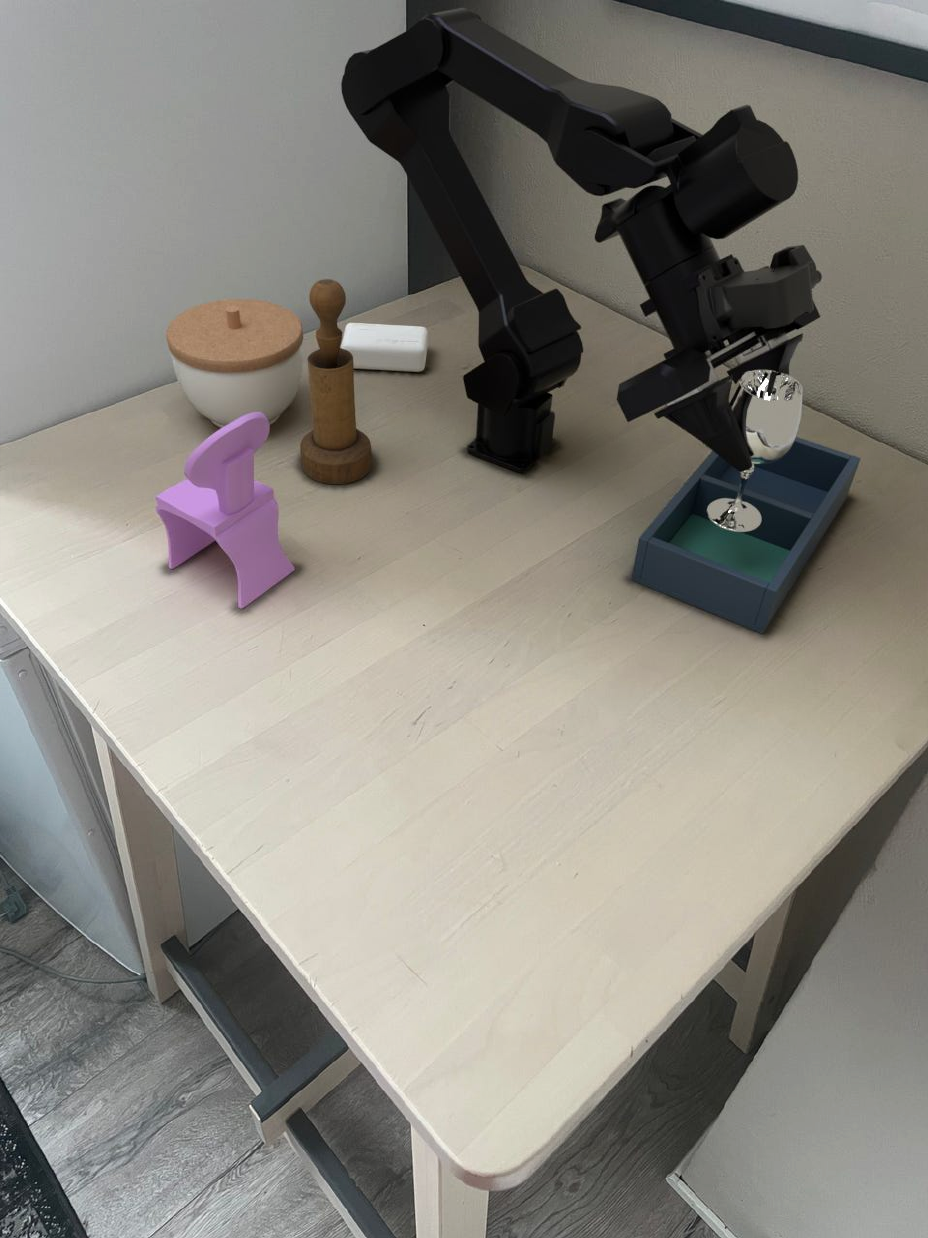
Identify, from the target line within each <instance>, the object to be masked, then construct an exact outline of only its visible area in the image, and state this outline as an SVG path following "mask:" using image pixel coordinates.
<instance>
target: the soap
mask: <svg viewBox="0 0 928 1238" xmlns="http://www.w3.org/2000/svg"><path fill="white" fill-rule="evenodd" d="M428 337H429V333H428V329H427V328H426V327H424V326H417V325H416V326H415V325H403V324H402V325H399V324H384V323H383V324H379V323H364V322H363V323H362V322H348V323H347V324H346V325H345V328H344V332H343V336H342V341H341V346H340V348H342V349H345V350H347V351H349V352H350V353H351V354H352V355H353V367H354V369H357V370H359V369H361V370H374V371H375V370H380V371H394V372H395V371H396V372H397V371H398V372H411V373H413V372H414V373H420V372H423V371H424V370H425V368H426V361H427V354H428V348H429V347H428V342H429V341H428Z"/></svg>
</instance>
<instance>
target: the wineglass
mask: <svg viewBox="0 0 928 1238" xmlns="http://www.w3.org/2000/svg"><path fill="white" fill-rule="evenodd" d="M803 396H804V388H803V386H802V384H801V383H800V382H799V380H797V379H796V378H795V377H793V376H792V375H790V374H789V375H787V374H785V373H782V372H779V371H774V370H767V369H757V370H751V371H748V372H746V373H744V374H742V376H741V377H740V378H739V380H738V382H737V383H736V384H735V386H734V387H733V389H732V391H731V392H730V395H729V403H730V406H731V408H732V411H733V413H734V416H735V418H736V421H737V423H738V426H739V428H740V431H741V433H742V436H743V438H744V441H745V443H746V446H747V449H748V452H749V455H750V458H751V462H752V467H751V468H750V469H748V470H746V471H743V472H740V473H741V478H740V485H739V489H738V492H737V496H736V498H735V499H734V498H721V499H717V500H715V501H713V502H711V503H710V504H709V505H708V507H707V515H708V517H709V519H710V520H711V521H712V522H713V523H714V524H716V525H717V526H719V527H721V528H723V529H726V530H729V531H734V532H747V531H751V530H754V529H756V528H757V527H759V525H760V524H761V521H762V517H761V514H760V512H759V511H758V510H757V508H755V507H754V506H753V505H751V504H750V503H748V502H745V501H743V500H742V496H743V492H744V489H745V486H746V483H747V481H748V480H749V478H750V476H751V475H752V473H753V471H754V464H768V463H772V462H775V461H777V460H779V459H781V458H782V457H783V456H784V455H786V454H787V453H788V452H789V450H790V449H791V447H792V446H793V444H794V442H795V440H796V438H797V437H798V434H799V431H800V428H801V423H802V415H803V399H804V397H803Z"/></svg>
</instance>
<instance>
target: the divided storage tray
mask: <svg viewBox="0 0 928 1238" xmlns="http://www.w3.org/2000/svg"><path fill="white" fill-rule="evenodd" d="M861 459H862V458H861V457H858V456H855V455H853V454H850V453H846V452H843V451H840V450H837V449H833V448H831V447H828V446H825V445H822V444H819V443H816V442H814V441H810V440H807V439H805V438H801V437H798V436H797V438H796V440H795V442H794V444H793V446H792V447H791V449H790V450H789V452H788V453H787V454H786V455H784V456H783V457H782V458H781V459H779V460H777V461H775V462H772V463H768V464H754V471H753V473H752V475H751V476H750V478H749V480H748V481H747V483H746V486H745V489H744V492H743V496H742V500H743V501H745V502H748V503H750V504H751V505H753V506H754V507H755V508H757V510H758V511H759V512H760V514H761V517H762V521H761V524H760V525H759V527H757V528H756V529H754V530H751V531H747V532H734V531H729V530H726V529H723V528H721V527H719V526H717V525H716V524H714V523H713V522H712V521H711V520H710V519H709V517H708V515H707V507H708V505H709V504H710V503H711V502H713V501H715V500H717V499H721V498H734V499H735V498H736V496H737V492H738V489H739V485H740V478H741V473H740V471H738V470H737V469H735V468H734V467H733V466H732V465H730V464H729V463H728V462H726V461H725V460H724V459H723V458H721V457H720V456H719V455H717V454H716V453H715V452H714V451H712V450H711V452H710V453H709V454H708V455H707V456H706V458H705V459H704V460H703V461H702V462H701V464H700V465H699V466H698V467H697V468H696V469H695V471H694V472H693V473H692V475H690V477H689V478H688V479H687V480H686V481H685V483H684V484H683V485H682V486H681V487H680V488H679V490H678V491H677V492H676V493H675V494H674V496H672V498H671V499H670V500H669V502H668V503H667V504H666V505H665V506H664V507H663V509H662V510H661V511H660V512H659V514H658V515H657V516H656V517H655V518H654V519H653V521H652V522H650V524H649V526H648V527H647V528H646V529H645V530H644V531H643V533H642V534H641V535H640V536H639V537H638V542H637V546H636V552H635V557H634V562H633V566H632V572H631V577H630V580H631V581H633V582H635V583H638V584H640V585H643V586H645V587H647V588H650V589H652V590H654V591H657V592H659V593H662V594H664V595H666V596H669V597H670V598H671V597H672V598H674V599H676V600H678V601H681V602H683V603H686V604H688V605H691V606H694V607H696V608H698V609H701V610H702V611H706V612H708V613H710V614H713V615H715V616H717V617H720V618H722V619H725V620H727V621H729V622H732V623H734V624H736V625H739V626H742V627H744V628H747V629H749V630H752V631H753V632H756V633H759V634H761V635H763V634H764V633H765V631H766V630H767V628H768V626H769V624H770V623H771V621H772V620H773V618H774V616H775V615H776V613H777V612H778V610H779V608H780V607H781V605H782V604H783V602H784V600H785V598H787V595H788V594H789V592H790V590H791V589H792V587H793V586H794V584H795V583H796V580H798V577H799V576H800V574H801V573H802V571H803V570H804V568H805V566H806V564H807V563H808V561H809V560H810V558H811V557H812V555H813V553H814V552H815V551H816V548H817V547H818V545H819V543H820V542H821V540H823V539H822V538H823V537H824V535H825V534H826V532H827V531H828V529H829V527H830V526H831V524H832V522H833V521H834V519H835V518H836V516H837V514H838V513H839V511H840V510H841V508H842V506H843V504H844V503H845V502H846V500H847V497H848V495H849V492H850V490H851V487H852V484H853V481H854V478H855V476H856V473H857V470H858V467H859V464H860V462H861Z"/></svg>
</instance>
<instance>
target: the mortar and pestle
mask: <svg viewBox="0 0 928 1238" xmlns="http://www.w3.org/2000/svg"><path fill="white" fill-rule="evenodd" d="M308 297H309V304H310V306H311V308H312V310H313V312H314V313H315V314H316V316H317V318H318V319H319V322H320V323H319V328H318V329H316V331H315V338H316V342H317V345H318V349H316V350H314V351H313V352H311V353H310V354H309V355H308V356H307V369H308V379H309V380H308V381H309V393H310V403H311V404H310V405H311V417H312V418H311V419H312V430H310V431H308V432H307V433H306V434H305V435H303V437H302V439H301V441H300V445H299V448H300V450H299V451H300V465H301V468H302V470H303V472H304V473H305V475H306V476H308V477H309V478H310V479H312V480H314V481H315V482H318V483H322V484H327V485H345V484H350V483H354V482H357V481H359V480H360V479H363V478H364V477H365V476H367V474H369V472H370V470H371V468H372V463H373V460H372V459H373V458H372V457H373V456H372V443H371V441H370V438H369V436H368V435H367V434H365V433H364V432H363V431H361V430H360V429H358V428H357V418H356V401H355V375H354V374H355V373H354V369H355V368H354V367H353V355H352V354H351V353H350V352H349V351H347V350H345V349H342V348H341V344H342V341H343V331H342V329H341V328H339V326H338V320H339V318H340V315H341V314H342V312H343V310H344V309H345V305H346V302H347V296H346V292H345V289H344V287H343V286H342V284H341V283H339V282H338V281H337V280H334V279H331V278H324V279H320V280H317V281H316V282H315V283H313V285H312V286H311V288H310V290H309V296H308Z"/></svg>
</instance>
